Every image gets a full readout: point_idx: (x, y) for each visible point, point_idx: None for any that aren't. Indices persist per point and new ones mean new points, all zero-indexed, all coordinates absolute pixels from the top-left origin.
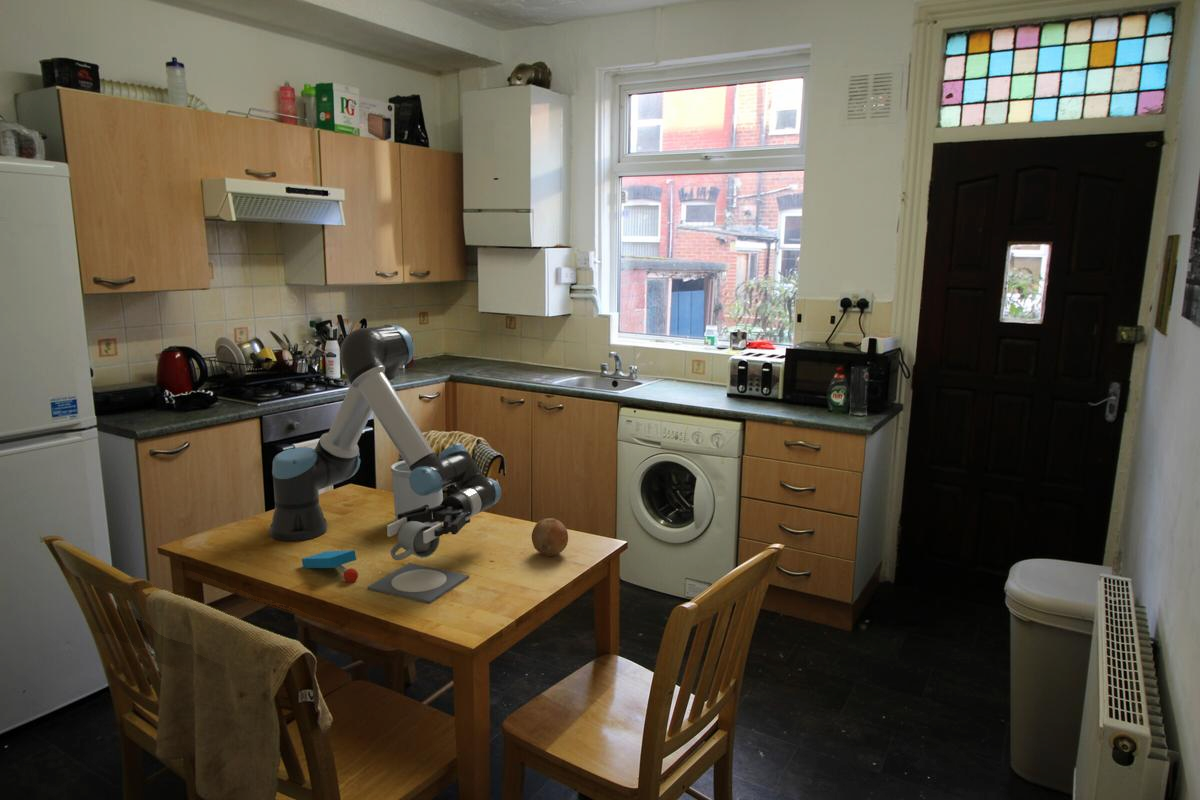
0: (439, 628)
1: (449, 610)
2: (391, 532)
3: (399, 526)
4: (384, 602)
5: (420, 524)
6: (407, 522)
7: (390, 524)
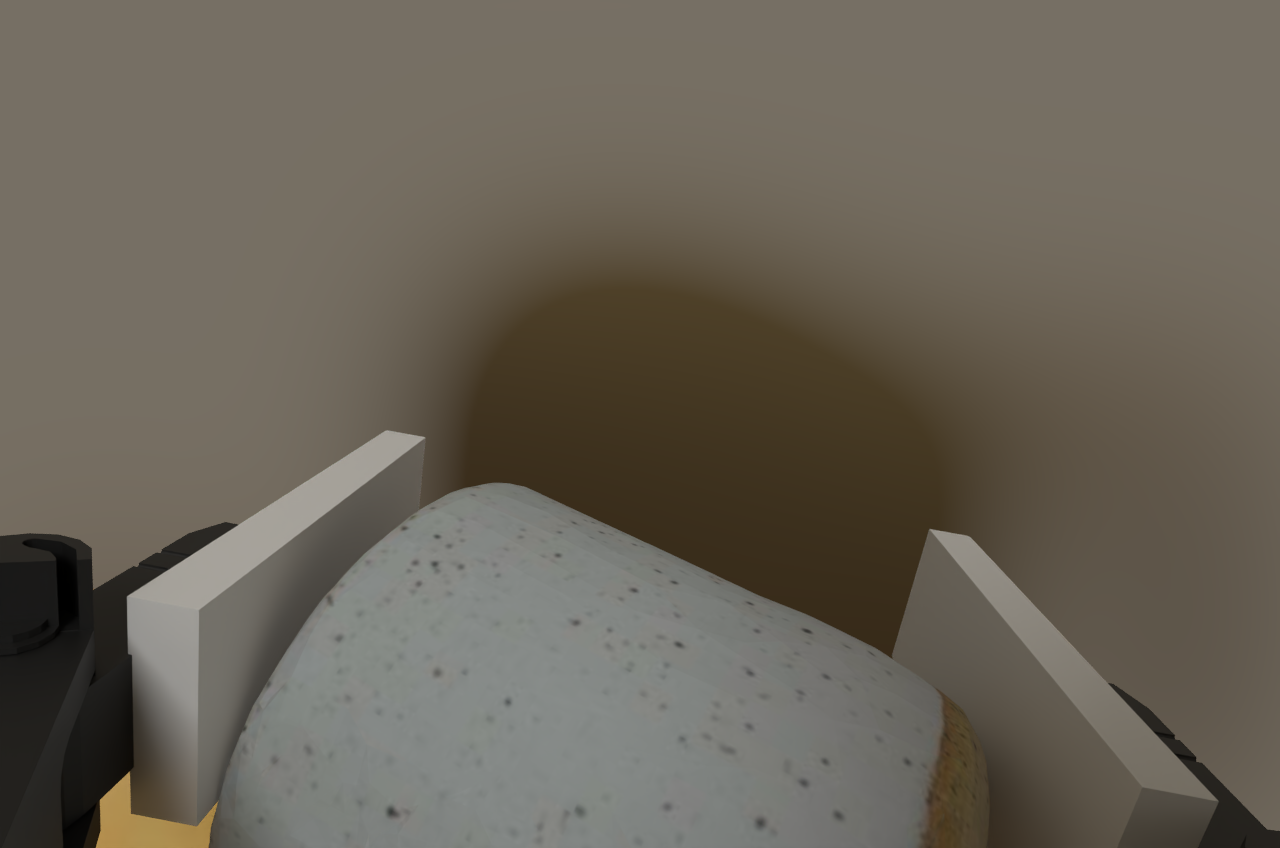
0: None
1: (118, 814)
2: (911, 629)
3: (988, 714)
4: None
5: (571, 539)
6: (925, 694)
7: (973, 555)
